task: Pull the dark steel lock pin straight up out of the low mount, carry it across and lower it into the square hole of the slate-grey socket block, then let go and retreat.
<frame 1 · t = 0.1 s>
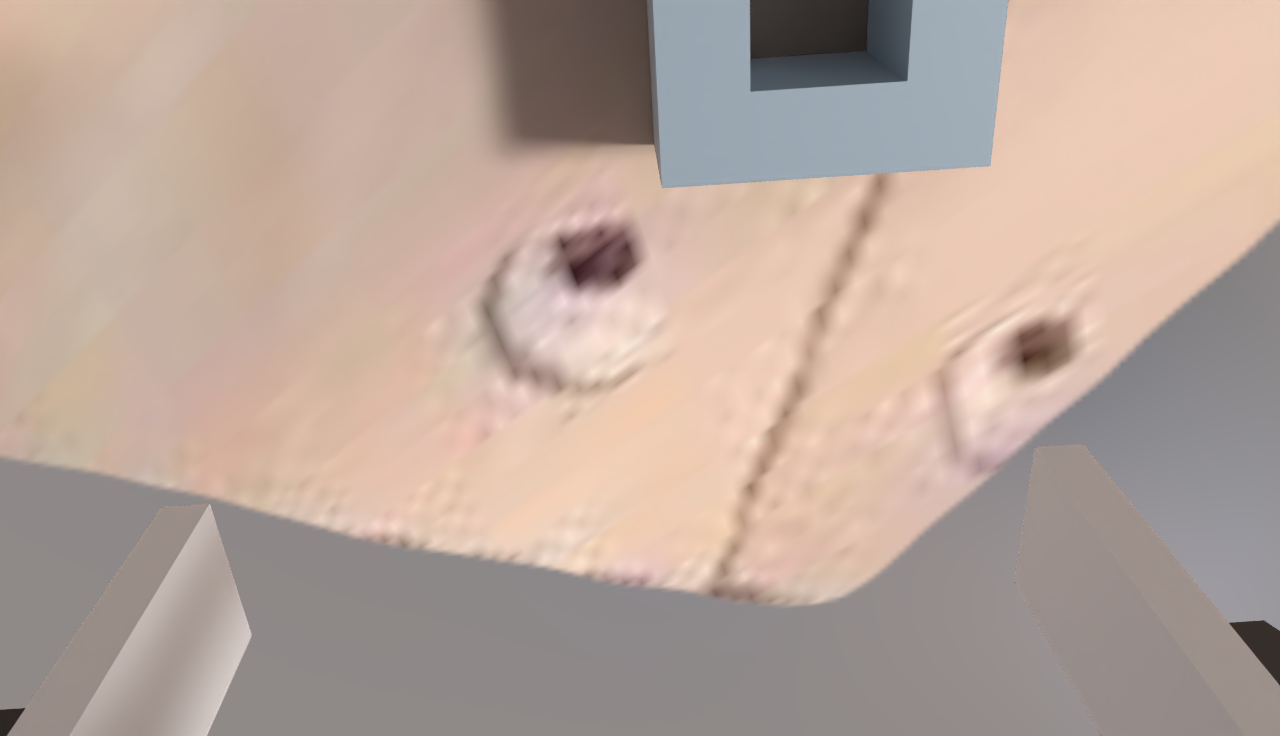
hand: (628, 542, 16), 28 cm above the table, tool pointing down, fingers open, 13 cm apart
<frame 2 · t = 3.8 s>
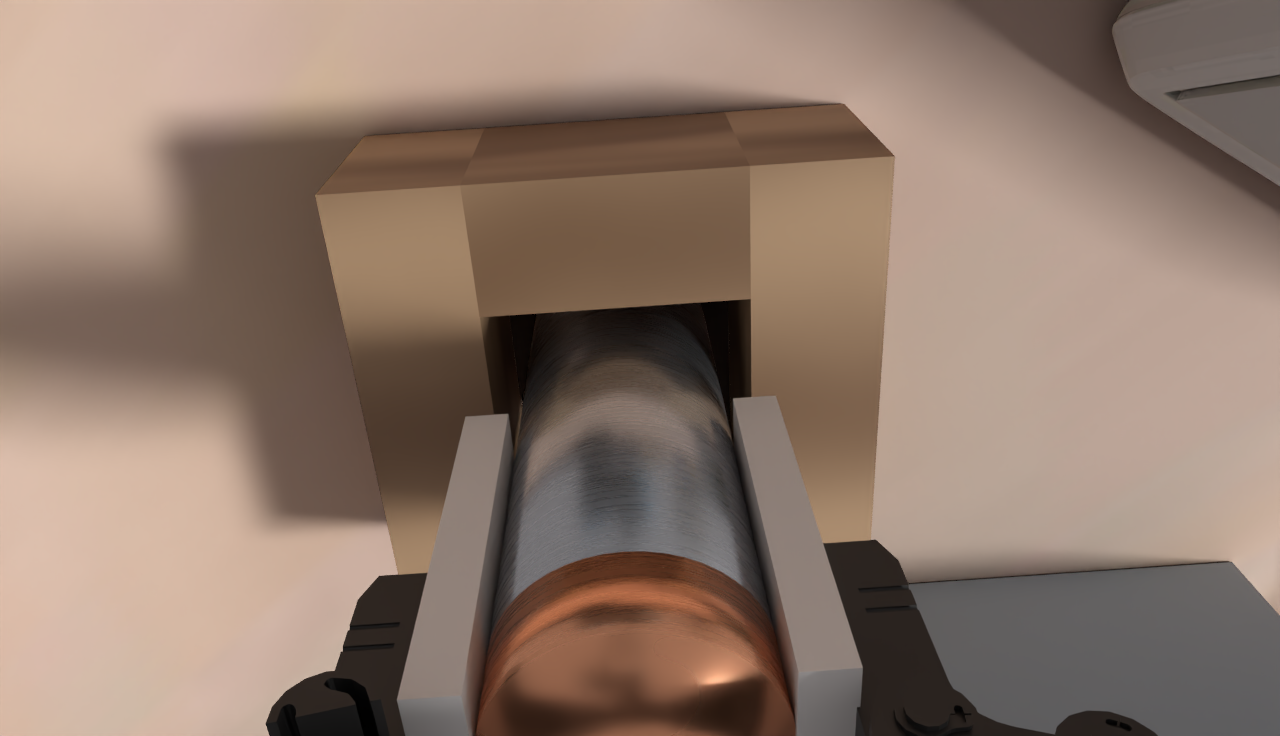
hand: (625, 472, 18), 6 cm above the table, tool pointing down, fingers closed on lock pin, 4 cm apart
mount: (620, 335, 23), on the table
socket: (987, 735, 29), on the table
lock pin: (626, 482, 17), in the mount, touching gripper
when the fingers open (7 cm above the table, at t = 9.6 s): lock pin drops 2 cm, resting in socket.
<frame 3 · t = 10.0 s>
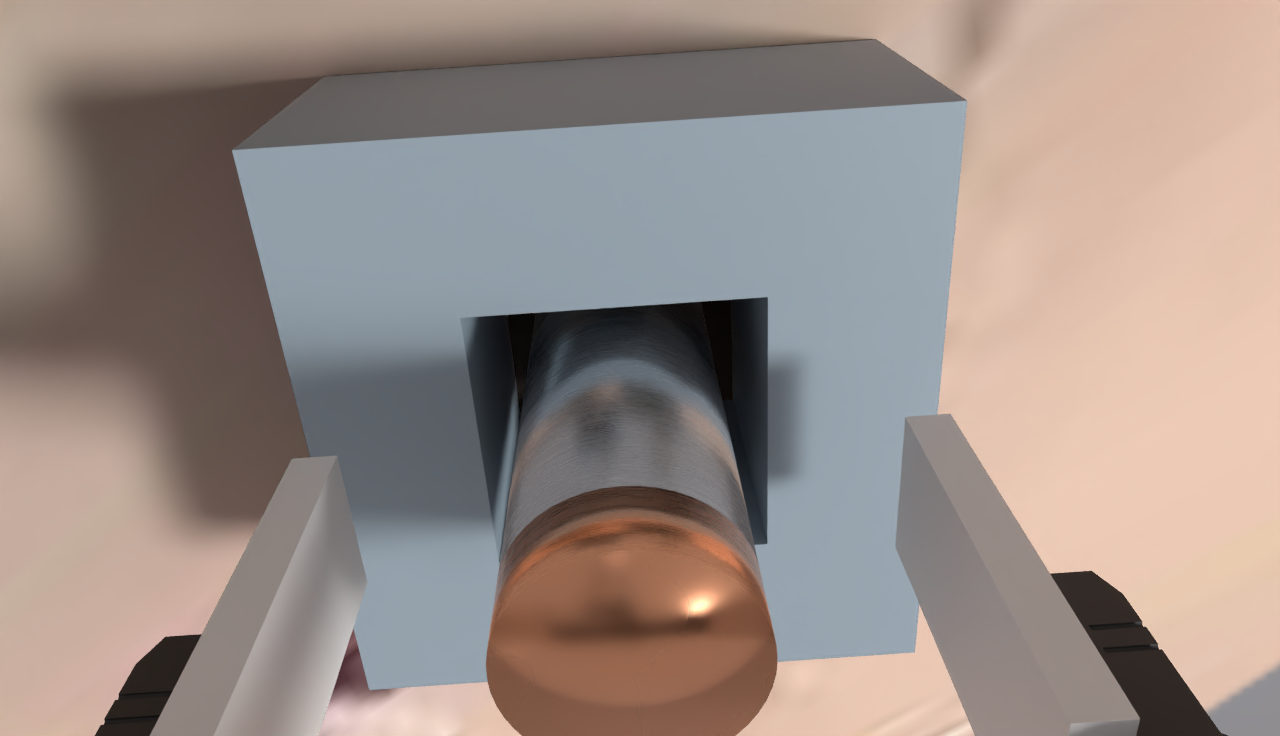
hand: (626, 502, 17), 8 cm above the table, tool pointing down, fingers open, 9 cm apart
socket: (619, 309, 24), on the table
lock pin: (623, 438, 19), in the socket
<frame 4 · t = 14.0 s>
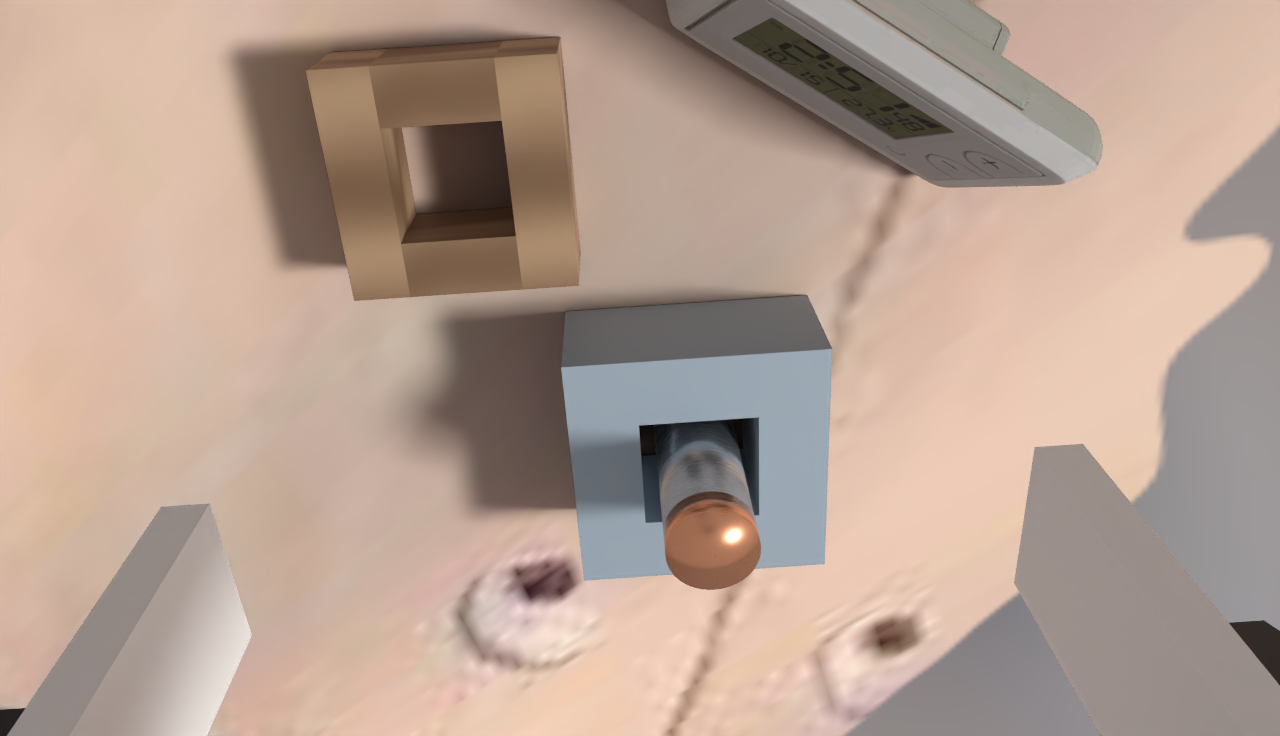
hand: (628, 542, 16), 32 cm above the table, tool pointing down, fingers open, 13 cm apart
mount: (461, 158, 45), on the table
socket: (690, 407, 51), on the table
lock pin: (700, 471, 46), in the socket
digital clock: (838, 46, 43), on the table
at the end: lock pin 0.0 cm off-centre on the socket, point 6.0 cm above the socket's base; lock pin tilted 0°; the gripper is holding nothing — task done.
